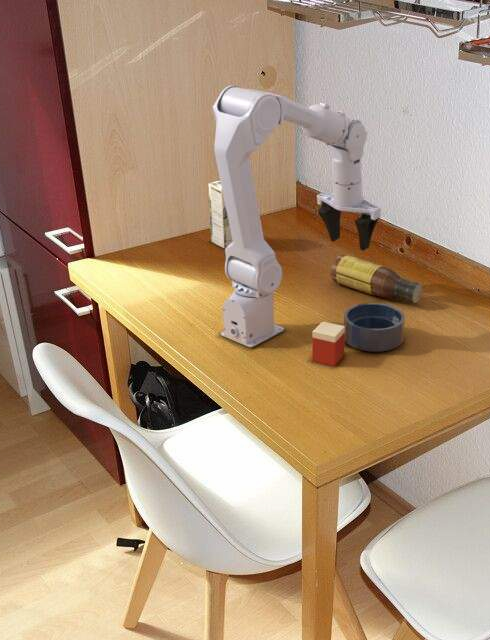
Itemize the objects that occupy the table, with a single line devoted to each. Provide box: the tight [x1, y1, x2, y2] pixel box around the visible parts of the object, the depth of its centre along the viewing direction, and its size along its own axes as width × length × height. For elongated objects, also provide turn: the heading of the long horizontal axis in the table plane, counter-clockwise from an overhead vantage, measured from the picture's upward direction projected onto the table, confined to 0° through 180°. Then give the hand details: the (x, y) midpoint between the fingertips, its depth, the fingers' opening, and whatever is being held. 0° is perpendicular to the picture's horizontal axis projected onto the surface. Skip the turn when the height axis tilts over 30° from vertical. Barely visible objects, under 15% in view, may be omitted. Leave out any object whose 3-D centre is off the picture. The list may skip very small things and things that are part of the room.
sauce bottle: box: [330, 254, 423, 304], centre depth 172 cm, size 6×6×20 cm
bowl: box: [343, 302, 406, 353], centre depth 154 cm, size 11×11×5 cm
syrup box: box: [207, 180, 233, 250], centre depth 192 cm, size 6×6×14 cm
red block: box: [311, 321, 345, 367], centre depth 148 cm, size 4×4×6 cm
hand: (349, 243), depth 169 cm, fingers open, 7 cm apart
